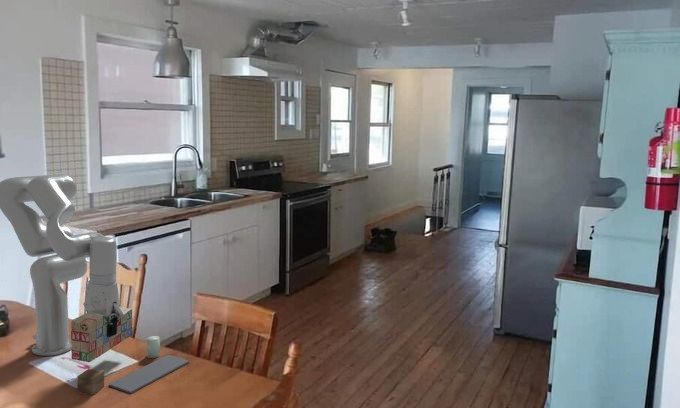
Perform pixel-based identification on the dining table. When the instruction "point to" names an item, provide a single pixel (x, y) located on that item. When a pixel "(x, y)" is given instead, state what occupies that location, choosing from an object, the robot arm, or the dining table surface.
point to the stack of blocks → (97, 334)
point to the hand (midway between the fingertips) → (102, 332)
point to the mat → (148, 374)
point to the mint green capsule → (153, 347)
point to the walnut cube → (90, 381)
